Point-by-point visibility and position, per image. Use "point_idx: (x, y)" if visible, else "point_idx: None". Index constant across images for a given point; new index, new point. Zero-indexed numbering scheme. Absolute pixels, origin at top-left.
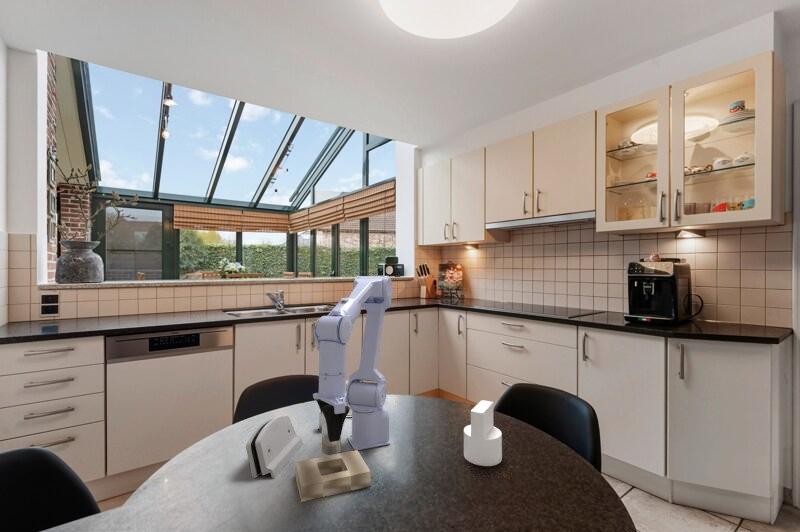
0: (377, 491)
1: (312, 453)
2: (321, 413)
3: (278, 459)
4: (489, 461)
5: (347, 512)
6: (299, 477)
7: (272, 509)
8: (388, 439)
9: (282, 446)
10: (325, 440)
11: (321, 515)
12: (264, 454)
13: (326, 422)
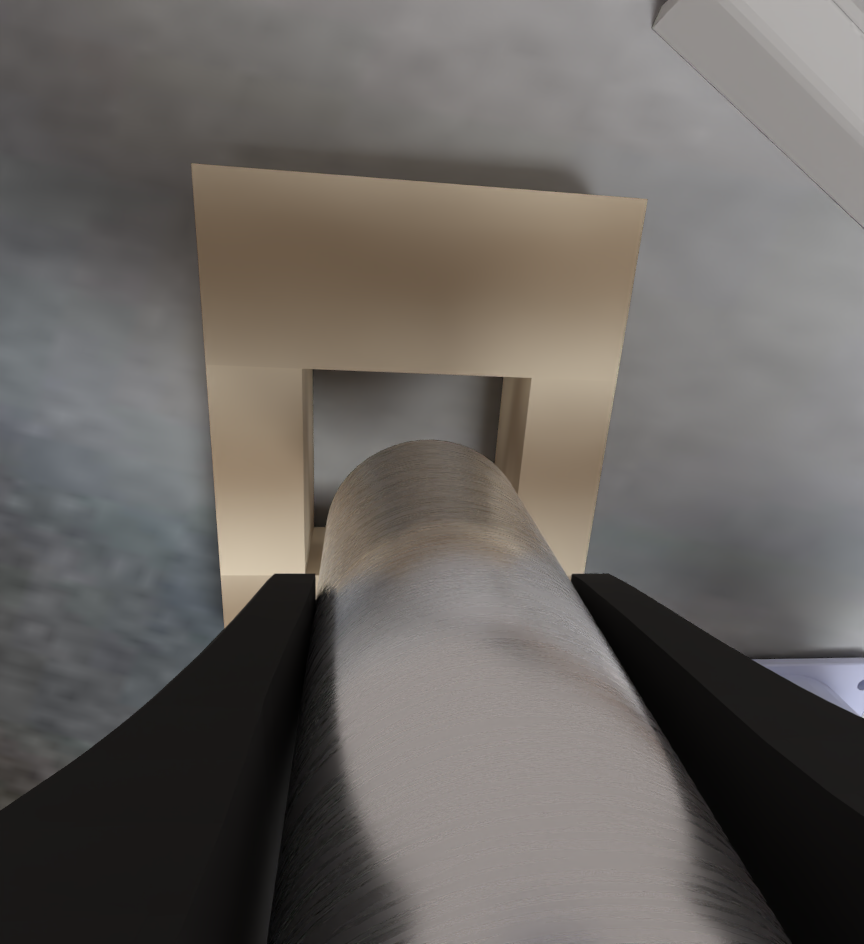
0: (180, 657)
1: (834, 399)
2: (823, 727)
3: (846, 72)
4: None
5: (12, 450)
6: (350, 178)
7: None
8: None
9: None
10: (356, 529)
11: (20, 285)
12: None
13: (134, 765)
